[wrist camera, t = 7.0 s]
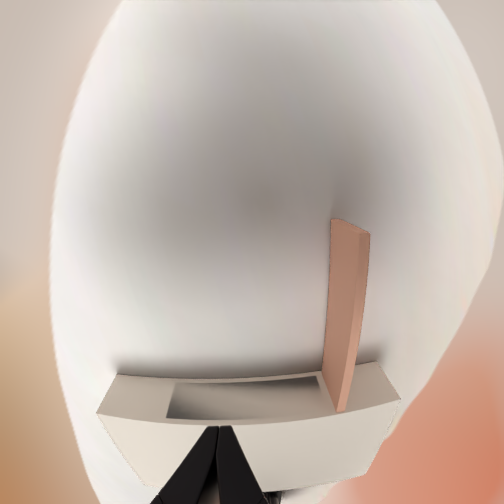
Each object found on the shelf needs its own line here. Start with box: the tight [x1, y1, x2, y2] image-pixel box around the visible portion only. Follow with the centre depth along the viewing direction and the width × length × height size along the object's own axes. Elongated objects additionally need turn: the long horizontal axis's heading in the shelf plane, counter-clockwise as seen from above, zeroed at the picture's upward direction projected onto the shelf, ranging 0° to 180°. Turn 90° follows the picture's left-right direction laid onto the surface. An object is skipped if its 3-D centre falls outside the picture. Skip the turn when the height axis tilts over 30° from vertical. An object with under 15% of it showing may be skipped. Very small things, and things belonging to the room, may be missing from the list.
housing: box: [96, 361, 401, 492], centre depth 19 cm, size 12×22×5 cm, turn 93°
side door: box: [321, 219, 370, 413], centre depth 16 cm, size 1×12×4 cm, turn 3°
